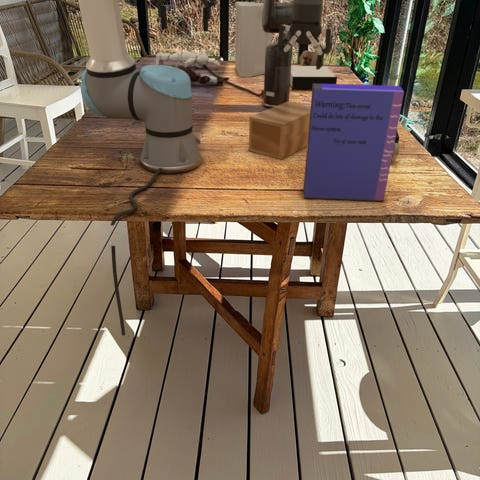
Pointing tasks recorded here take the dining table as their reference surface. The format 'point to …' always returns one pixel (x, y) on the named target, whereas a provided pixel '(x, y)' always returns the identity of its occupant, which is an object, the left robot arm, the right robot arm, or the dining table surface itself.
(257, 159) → the dining table surface
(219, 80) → the figurine
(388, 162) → the purple hardcover book
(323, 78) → the disc drive
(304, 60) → the anatomical model
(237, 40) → the tall white box
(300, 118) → the brown rectangular block
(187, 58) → the toy
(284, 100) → the right robot arm
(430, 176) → the dining table surface
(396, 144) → the figurine character
